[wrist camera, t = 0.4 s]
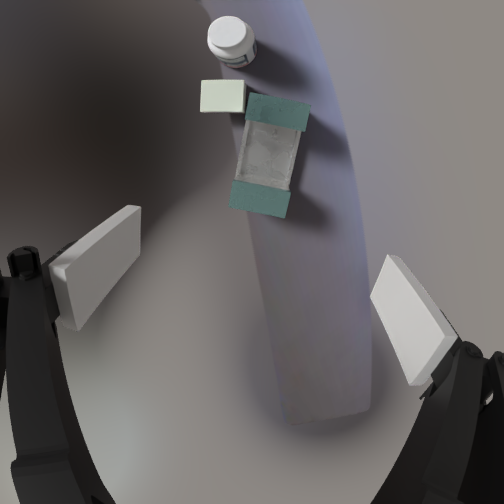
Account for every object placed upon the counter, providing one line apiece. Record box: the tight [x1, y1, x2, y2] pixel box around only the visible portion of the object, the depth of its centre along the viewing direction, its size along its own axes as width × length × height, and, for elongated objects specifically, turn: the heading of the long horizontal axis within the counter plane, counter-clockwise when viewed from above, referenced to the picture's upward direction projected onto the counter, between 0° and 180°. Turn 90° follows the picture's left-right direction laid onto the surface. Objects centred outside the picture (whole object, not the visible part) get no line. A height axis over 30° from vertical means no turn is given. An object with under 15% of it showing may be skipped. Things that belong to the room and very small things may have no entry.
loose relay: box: [200, 80, 246, 113], centre depth 31 cm, size 4×5×4 cm
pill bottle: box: [208, 16, 257, 68], centre depth 26 cm, size 5×5×9 cm
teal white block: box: [229, 92, 311, 218], centre depth 32 cm, size 13×7×7 cm, turn 169°
